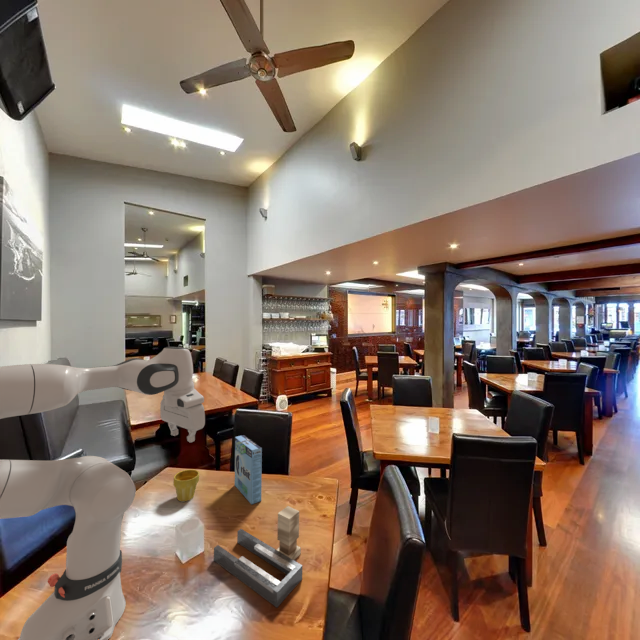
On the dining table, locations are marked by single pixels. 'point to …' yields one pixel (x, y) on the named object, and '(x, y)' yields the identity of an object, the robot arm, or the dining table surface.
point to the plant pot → (186, 484)
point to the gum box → (248, 468)
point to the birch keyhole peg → (288, 532)
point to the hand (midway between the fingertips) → (182, 438)
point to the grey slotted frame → (255, 575)
